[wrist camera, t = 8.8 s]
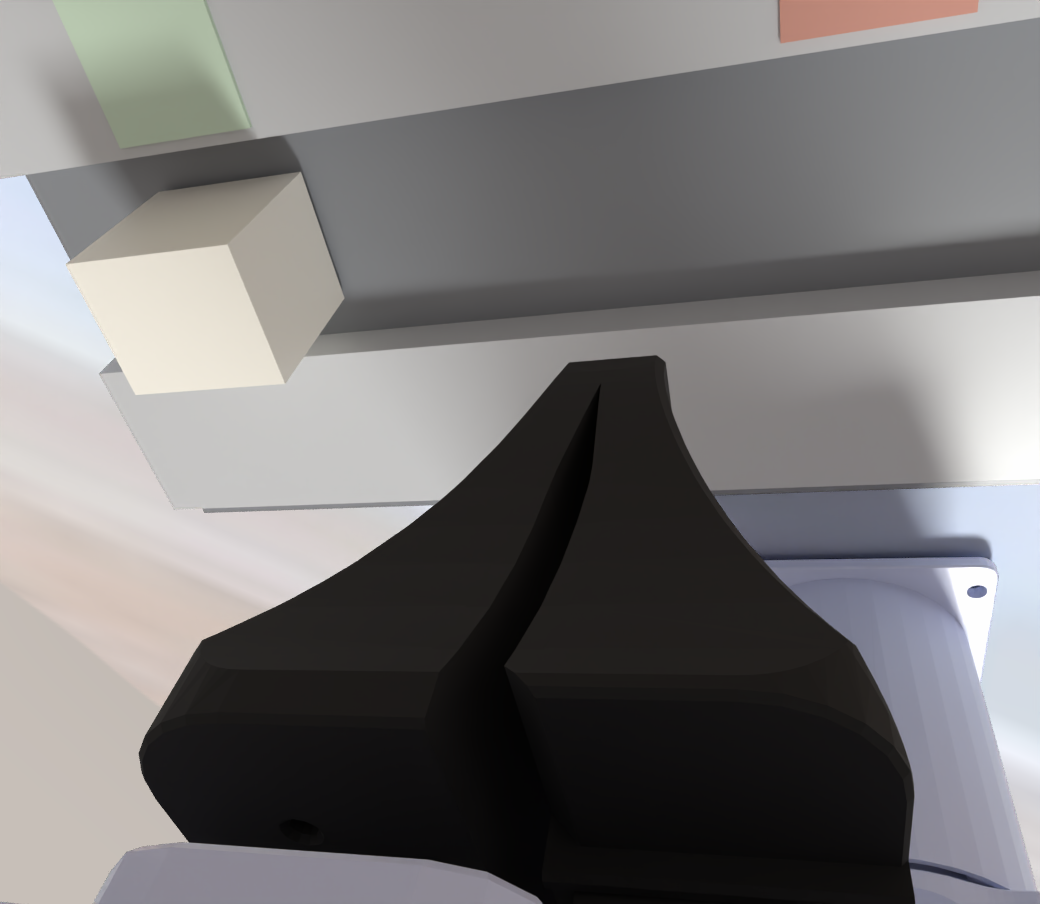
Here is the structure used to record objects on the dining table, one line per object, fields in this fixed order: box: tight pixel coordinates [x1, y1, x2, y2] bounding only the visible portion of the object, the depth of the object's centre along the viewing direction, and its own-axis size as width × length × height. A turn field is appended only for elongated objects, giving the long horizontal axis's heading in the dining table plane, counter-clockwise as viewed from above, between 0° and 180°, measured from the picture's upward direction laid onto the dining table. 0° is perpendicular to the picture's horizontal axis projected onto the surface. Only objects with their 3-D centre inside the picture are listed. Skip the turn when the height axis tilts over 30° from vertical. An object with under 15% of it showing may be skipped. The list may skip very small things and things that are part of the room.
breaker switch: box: [66, 172, 344, 395], centre depth 19 cm, size 3×4×4 cm
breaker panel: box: [0, 0, 1040, 513], centre depth 19 cm, size 16×24×3 cm, turn 101°
